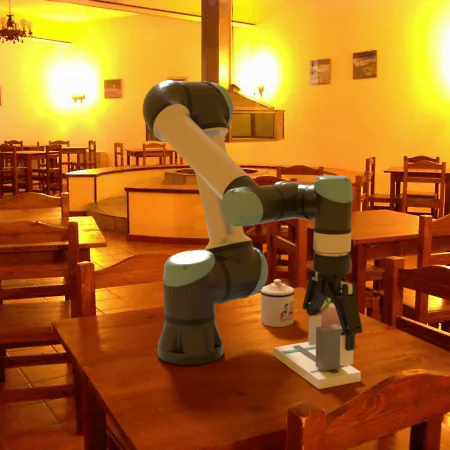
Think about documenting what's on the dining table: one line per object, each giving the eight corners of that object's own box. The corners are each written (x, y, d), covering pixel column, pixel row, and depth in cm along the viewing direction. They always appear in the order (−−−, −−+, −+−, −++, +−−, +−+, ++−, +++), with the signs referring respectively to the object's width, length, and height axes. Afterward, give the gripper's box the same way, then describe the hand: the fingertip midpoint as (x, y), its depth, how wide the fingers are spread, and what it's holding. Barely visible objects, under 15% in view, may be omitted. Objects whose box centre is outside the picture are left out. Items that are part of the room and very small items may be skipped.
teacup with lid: (285, 330, 165) (286, 286, 163) (254, 324, 170) (254, 281, 168) (303, 317, 176) (304, 275, 174) (273, 312, 180) (273, 272, 178)
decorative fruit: (314, 327, 167) (315, 290, 165) (345, 332, 163) (346, 294, 162) (303, 339, 158) (303, 300, 157) (335, 343, 155) (336, 304, 153)
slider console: (318, 389, 129) (318, 378, 129) (273, 355, 148) (273, 346, 147) (360, 381, 133) (360, 371, 133) (311, 349, 151) (311, 340, 151)
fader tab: (323, 371, 132) (323, 331, 131) (315, 365, 135) (316, 327, 134) (343, 367, 134) (344, 328, 133) (335, 362, 137) (336, 324, 135)
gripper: (383, 262, 121) (379, 371, 125) (317, 240, 143) (315, 333, 146) (349, 266, 118) (346, 378, 122) (287, 243, 140) (286, 338, 144)
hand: (329, 354), depth 134 cm, fingers open, 12 cm apart
